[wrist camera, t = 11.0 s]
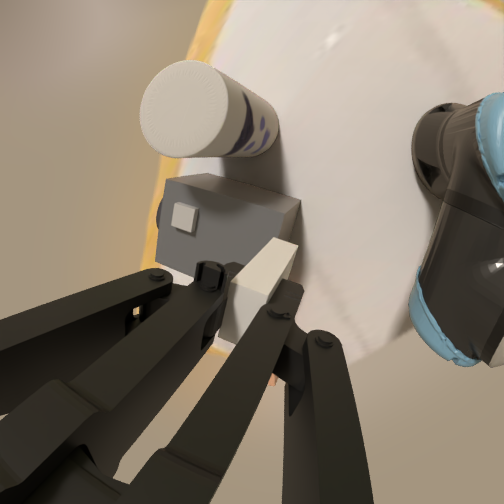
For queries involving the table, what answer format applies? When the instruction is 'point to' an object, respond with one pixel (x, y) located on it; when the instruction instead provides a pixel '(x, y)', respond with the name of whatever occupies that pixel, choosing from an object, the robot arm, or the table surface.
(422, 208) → the table surface
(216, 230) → the dark gray knobbed box
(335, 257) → the table surface
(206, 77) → the container
